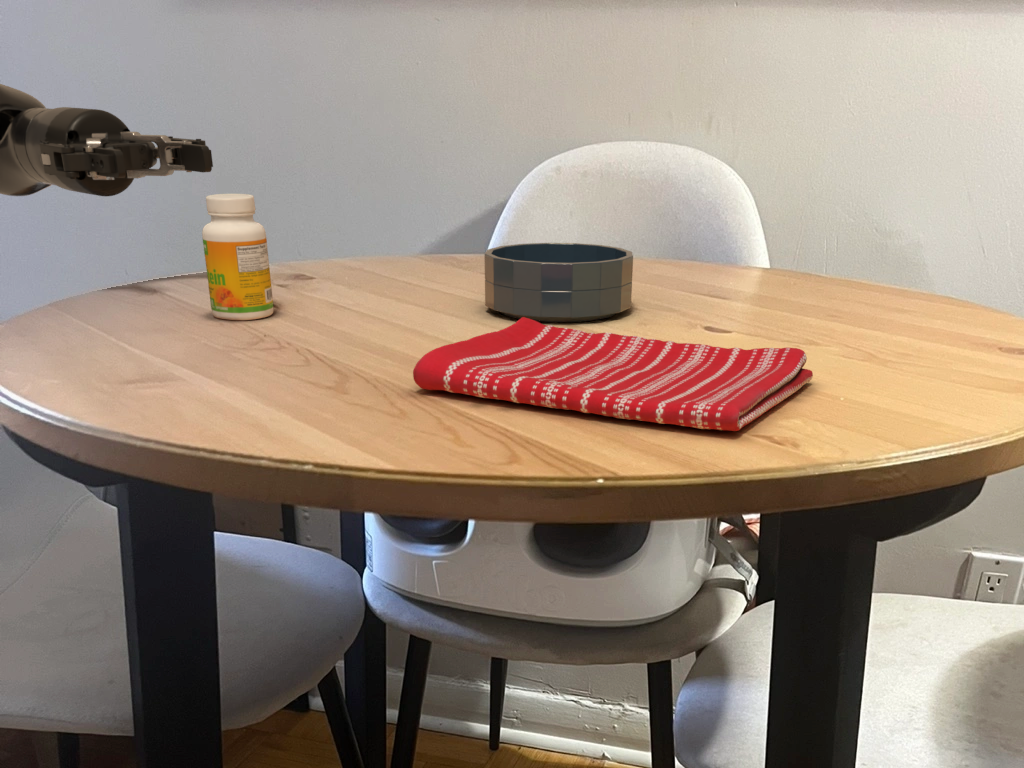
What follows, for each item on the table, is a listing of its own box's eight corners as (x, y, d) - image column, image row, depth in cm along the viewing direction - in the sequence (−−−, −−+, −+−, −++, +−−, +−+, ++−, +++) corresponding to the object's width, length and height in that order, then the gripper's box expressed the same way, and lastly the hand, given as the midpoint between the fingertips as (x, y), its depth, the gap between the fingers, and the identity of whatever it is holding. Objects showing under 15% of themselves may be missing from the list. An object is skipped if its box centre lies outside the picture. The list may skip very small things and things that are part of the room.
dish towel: (523, 348, 92) (523, 313, 90) (814, 383, 82) (819, 345, 81) (403, 394, 78) (401, 354, 77) (733, 442, 69) (737, 398, 68)
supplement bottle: (201, 314, 103) (185, 195, 98) (255, 307, 106) (242, 191, 101) (230, 323, 99) (215, 200, 94) (285, 316, 102) (273, 196, 98)
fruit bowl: (597, 330, 98) (599, 267, 96) (460, 316, 103) (459, 256, 100) (650, 305, 108) (653, 248, 106) (524, 294, 113) (524, 239, 111)
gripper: (0, 109, 107) (81, 116, 97) (141, 106, 115) (229, 112, 106) (18, 198, 110) (98, 213, 101) (153, 188, 119) (239, 201, 109)
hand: (165, 161), depth 103 cm, fingers open, 8 cm apart
